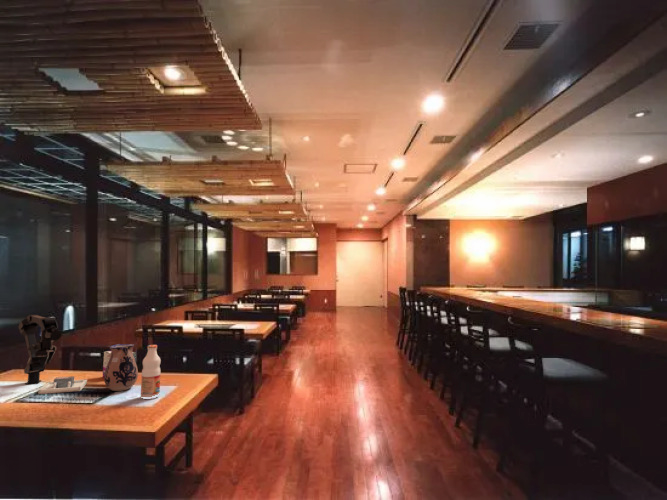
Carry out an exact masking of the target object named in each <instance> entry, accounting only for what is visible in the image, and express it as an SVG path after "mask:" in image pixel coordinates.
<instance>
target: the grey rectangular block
mask: <svg viewBox="0 0 667 500" xmlns="http://www.w3.org/2000/svg"><path fill="white" fill-rule="evenodd" d="M74 380H75V376H73V375H71V376H70V375H69V376H58V377H55V378H53V382H54V383H55V382H56V388H66V387H68V382H71V386H70V387H72V386H73V385H74Z"/></svg>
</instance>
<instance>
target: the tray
mask: <svg viewBox="0 0 667 500" xmlns="http://www.w3.org/2000/svg"><path fill="white" fill-rule="evenodd" d="M87 383H88V379H74V385H73V386H72V387H70V386H71V382H68V387H66V388H56V382H55V383H54V381H47V383H45V384H44V385H43V386H42V387H40V388H39V389H38V393H37V394H38V395H44V394H45V395H46V394H57V393H59V394H60V393H69V392H71V393H72V392H80V391H82V389H83V388H85V386H86V384H87Z"/></svg>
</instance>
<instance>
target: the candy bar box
mask: <svg viewBox="0 0 667 500" xmlns="http://www.w3.org/2000/svg"><path fill="white" fill-rule="evenodd" d="M110 356H111V350H107V351H104V352H103V363H102V364H103V365H102V378H103V377H104V374H105V370H106V367H107V364H108V362H109V359H110Z"/></svg>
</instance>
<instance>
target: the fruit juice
mask: <svg viewBox="0 0 667 500" xmlns="http://www.w3.org/2000/svg"><path fill="white" fill-rule="evenodd" d="M146 347H147V353H146V354H145V357H144V358H143V359H142V370H141V379H140V380H141V382H140V384H141V385H140V398H141V397H152V396H155V395H158V394H159V393H160V391H161V390H160V389H161V367H160V365H161V362H162V360H161V357H160V356H159V355H158V352H157V350H158V345H157V344H149V345H147V346H146ZM159 395H160V394H159Z"/></svg>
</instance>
